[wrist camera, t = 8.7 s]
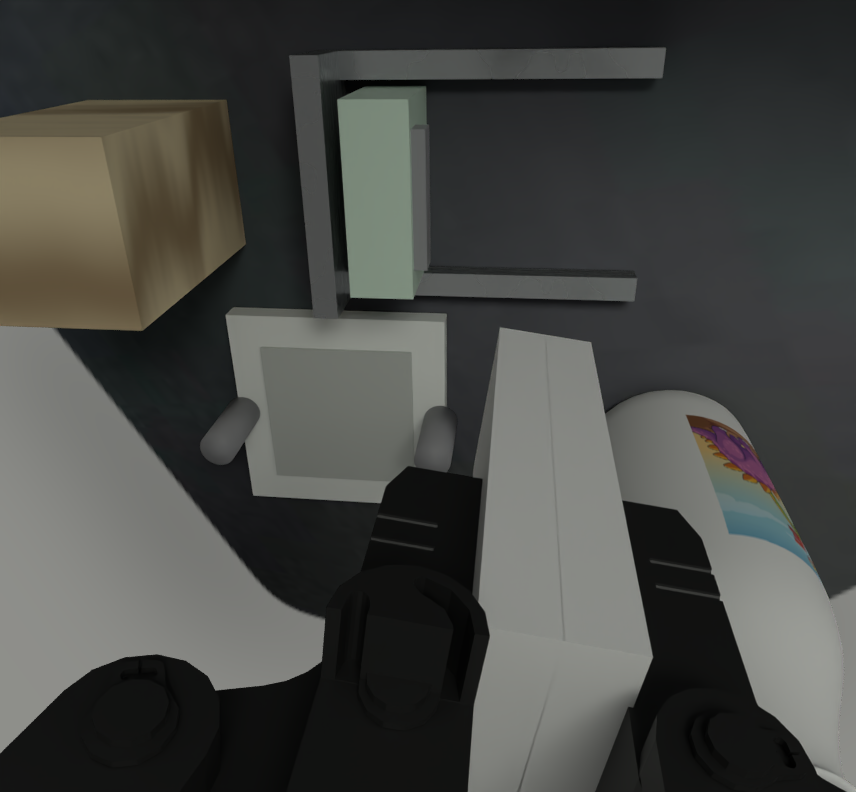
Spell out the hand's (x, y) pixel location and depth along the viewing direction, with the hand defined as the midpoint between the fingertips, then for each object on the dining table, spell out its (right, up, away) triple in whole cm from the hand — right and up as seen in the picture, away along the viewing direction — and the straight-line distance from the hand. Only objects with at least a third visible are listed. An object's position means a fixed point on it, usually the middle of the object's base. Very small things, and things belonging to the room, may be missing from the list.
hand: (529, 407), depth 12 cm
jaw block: (-13, +10, +19) cm, 25 cm away
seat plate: (-6, 0, +23) cm, 24 cm away
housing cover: (-3, +9, +18) cm, 20 cm away
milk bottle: (+10, -3, +23) cm, 25 cm away
